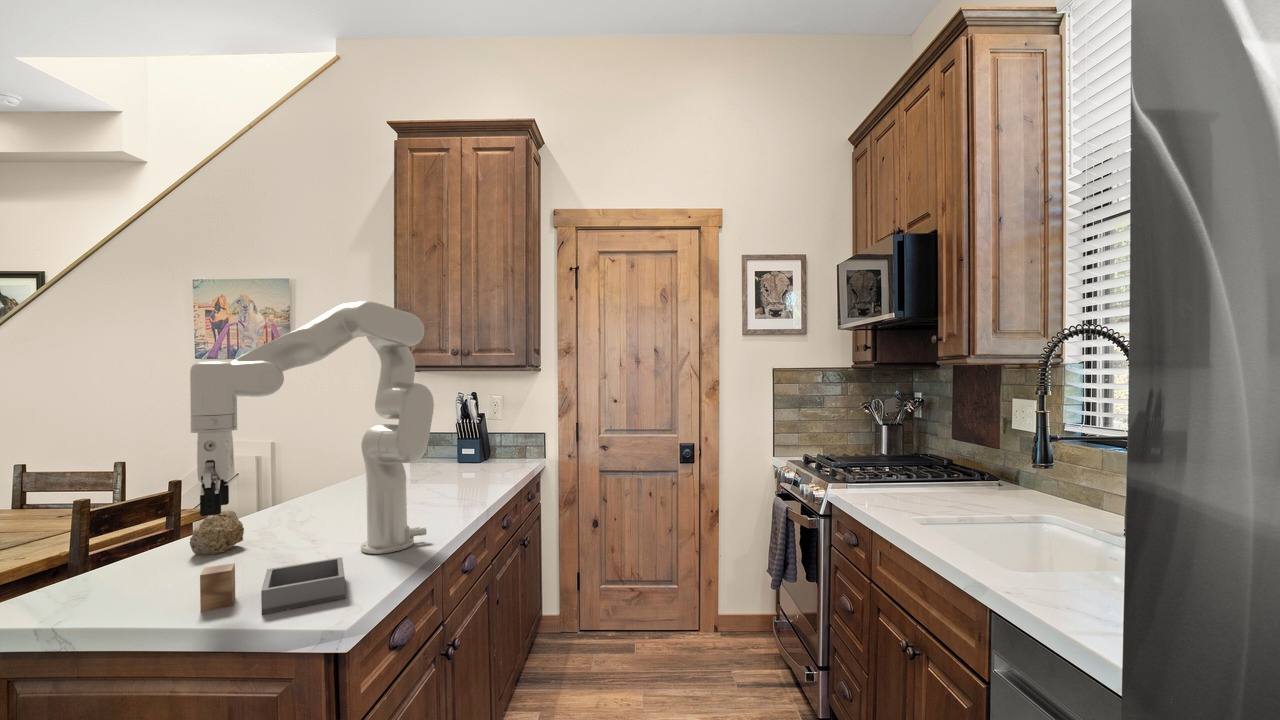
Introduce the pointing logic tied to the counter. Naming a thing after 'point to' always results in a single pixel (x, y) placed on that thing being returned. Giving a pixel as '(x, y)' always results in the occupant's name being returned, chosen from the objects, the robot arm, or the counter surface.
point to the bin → (303, 585)
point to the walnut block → (217, 587)
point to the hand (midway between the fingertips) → (215, 509)
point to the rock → (217, 533)
